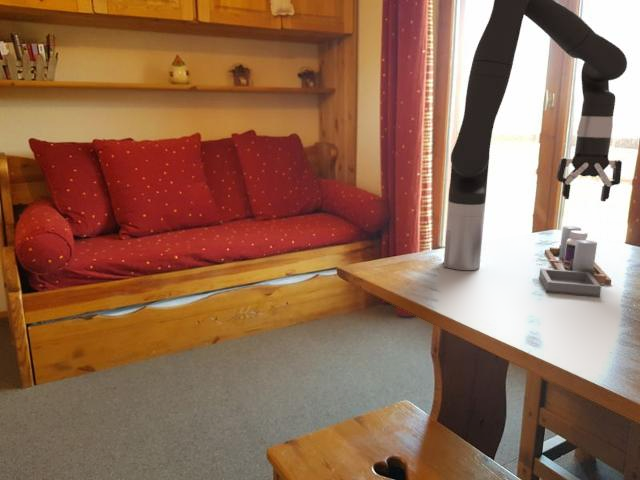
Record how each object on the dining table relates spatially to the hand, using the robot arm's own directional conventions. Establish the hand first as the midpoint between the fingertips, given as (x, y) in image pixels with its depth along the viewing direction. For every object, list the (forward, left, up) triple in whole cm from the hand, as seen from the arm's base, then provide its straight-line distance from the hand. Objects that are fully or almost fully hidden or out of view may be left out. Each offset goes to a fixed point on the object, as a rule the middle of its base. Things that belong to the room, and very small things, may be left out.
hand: (584, 199), depth 132 cm
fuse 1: (0, +9, -18) cm, 20 cm away
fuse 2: (0, -8, -18) cm, 20 cm away
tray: (-5, -18, -18) cm, 26 cm away
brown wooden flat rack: (0, 0, -18) cm, 18 cm away
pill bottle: (0, 0, -18) cm, 18 cm away
